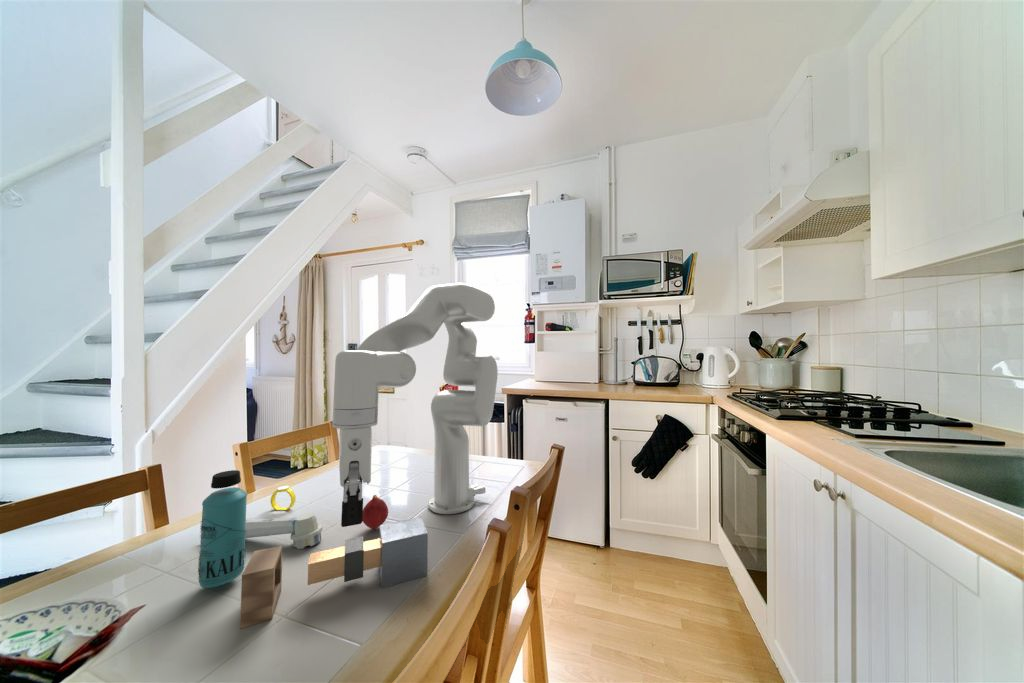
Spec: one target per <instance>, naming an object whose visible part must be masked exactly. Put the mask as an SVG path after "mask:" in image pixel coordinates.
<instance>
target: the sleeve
mask: <svg viewBox="0 0 1024 683" xmlns="http://www.w3.org/2000/svg"><path fill="white" fill-rule="evenodd" d="M428 533H429V532H428V531H427V528H426V525H425V523H424V521H423V519H422V516H419V517H414V518H413V517H412V518H410V519H404V520H399V521H394V522H388V523H383V524H382V525H380V526H379V538H381V544H382V564H381V567H378V568H379V576H380V577H379V578H380V586H381V587H380V588H381V589H384V588H389V587H391V586H395V585H398V584H402V583H405V582H406V583H407V582H409V581H412V580H416V579H419V578H424V577H427V576H428V556H429V555H428V553H429V552H428V547H429V546H428V543H429V542H428V541H429V540H428V539H429V538H428Z"/></svg>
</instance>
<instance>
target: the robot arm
mask: <svg viewBox="0 0 1024 683" xmlns="http://www.w3.org/2000/svg"><path fill="white" fill-rule="evenodd" d="M495 306H496V305H495V301H494V298H493V296H492V295H491V294H490V293H489V291H486V290H483V289H481V288H479V287H477V286H474V285H473V284H472V285H471V284H469V283H465V282H456V283H445V284H437V285H432V286H430V287H428V288H427V289H425V291H424V292H423V293H422V294H421V295H420V297H419V298H418V299H417V300H416V302H414V303H413V305H412V306H411V307H410V308H409V309H408V311H407V312H406V313H405V314H404V315H403V316H401V317H398V318H397V319H395V320H393V321H391V322H390V323H388V324H387V325H384V326H383V327H382V328H379V329H377V330H376V331H375V332H373V333H371V334H370V335H369V336H367V337H366V338H365V339H364V340H363V342H362V343H361V344H359V346H358V347H357V348H356V349H355V350H353V349H352V350H341V351H339V352H338V353H337V354H336V357H335V360H334V384H333V386H334V387H333V404H332V406H333V407H332V408H333V409H332V425H331V426H332V428H334V429H337V430H338V429H339V446H338V448H339V451H338V462H339V463H338V464H339V465H338V468H339V482H340V483H339V485H340V486H341V487H342V488H343V494H342V495H343V498H342V501H341V521H340V522H341V523H340V526H341V527H342V528H347V527H351V526H358V525H361V524H362V523H363V521H362V520H363V509H364V498H363V484H367V485H368V484H370V483H371V482H372V475H371V474H372V452H373V451H372V450H373V449H372V445H373V441H372V440H373V438H372V437H373V435H372V427H375V426H377V425H378V422H379V421H378V420H379V419H378V418H379V417H378V416H379V413H378V412H379V390H380V388H391V389H392V388H393V389H394V388H395V389H396V388H402V387H405V386H407V385H409V384H410V383H411V382H412V381H413V379H414V378H415V376H416V371H417V364H416V362H415V360H414V358H413V357H412V356H411V355H410V354H408V353H406V352H404V350H405V351H406V350H407V349H410V348H411V349H412V348H415V347H418V346H420V345H423V344H426V343H428V342H429V341H431V340H432V339H434V337H435V336H436V334H437V332H438V331H439V330H440V328H441V327H442V325H443V324H444V325H445V328H446V331H447V335H448V344H447V350H446V354H445V359H444V366H443V372H442V373H443V374H442V375H443V376H442V377H443V380H444V381H445V384H447V385H449V386H454V387H468V388H469V387H473V388H474V387H475V388H474V389H475V390H464V389H445V390H441V391H439V392H437V393H436V394H434V396H433V397H432V400H431V403H430V410H431V411H430V412H431V417H432V423H433V431H434V457H433V458H434V459H433V460H434V464H433V465H434V469H433V470H434V472H433V474H434V482H433V484H434V485H433V486H434V488H433V491H434V492H433V493H434V494H433V496H432V497H431V498H430V499H429V500H428V505H427V506H428V509H429V510H430V511H432V512H433V513H436V514H440V515H455V514H459V513H464V512H466V511H468V510H470V509H471V508H472V507H474V505H475V496H476V495H483V494H485V493H486V492H487V491H486V489H487V488H486V486H484V485H482V486H479V485H478V484H475V485H470V438H469V435H468V433H467V430H466V428H465V427H464V426H468V427H469V426H470V427H484V426H487V425H488V424H489V423H490V421H491V420H492V417H493V413H494V407H495V406H494V405H495V399H496V392H497V382H498V376H499V374H498V373H499V370H498V365H497V361H496V359H495V358H494V357H493V355H491V354H489V353H477V346H478V345H477V344H478V339H477V336H476V333H475V332H474V331H473V329H472V328H471V327H470V325H469V324H468V323H470V322H471V323H473V322H474V323H475V322H487V321H489V320H490V319H491V318H492V317H493V316H494V314H495V309H496V307H495Z"/></svg>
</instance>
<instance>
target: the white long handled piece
mask: <svg viewBox="0 0 1024 683" xmlns="http://www.w3.org/2000/svg"><path fill="white" fill-rule="evenodd" d="M245 530H246V532H247V533H246V535H245V539H252V538H260V537H262V538H263V537H270V536H271V537H272V536H280V535H288V534H289V535H290V540H291V541H293V543H292V544H293V548H297V550H303V549H305V548H306V547H308V546H310V547H312V546H314V545H317V544H319V543H320V542H321V541H322V531H323V524H318V519H317V516H316V515H315V513H306V514H302V515H300V516H298V517H283V518H282V517H279V518H256V519H255V518H254V519H253V518H251V519H250V518H249V519H246V526H245Z"/></svg>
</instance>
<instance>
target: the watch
mask: <svg viewBox="0 0 1024 683" xmlns="http://www.w3.org/2000/svg"><path fill="white" fill-rule="evenodd" d="M284 492H286V493H288V495H289V497H290V501H291V502H290V503H289V506H288V507H284V506H282V507H280V506H279V505H278V504H277V501H276V497H277V494H278V493H284ZM295 503H296V494H295V492H294V490H293V489H291V488H290V485H284V486H283V485H282V486H280V487H277V489H276V491H274V492H273V493H272V495H271V496H270V505H271V507H272V509H273V510H274V511H276V510H287V511H289V510H290V509H291V508H292V507H293V506H294V505H295Z"/></svg>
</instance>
